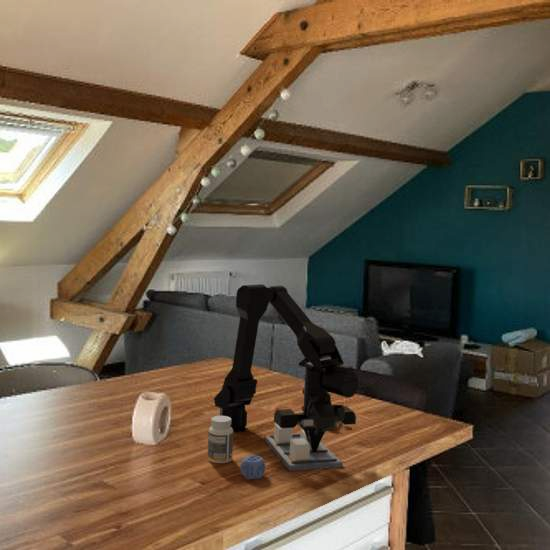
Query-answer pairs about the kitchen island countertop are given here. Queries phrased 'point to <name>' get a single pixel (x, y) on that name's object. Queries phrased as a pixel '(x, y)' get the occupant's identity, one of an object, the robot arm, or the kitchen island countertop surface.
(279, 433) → the white cube
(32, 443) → the kitchen island countertop surface
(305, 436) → the white cube
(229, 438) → the pill bottle
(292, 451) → the white cube
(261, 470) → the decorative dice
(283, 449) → the dip bank
